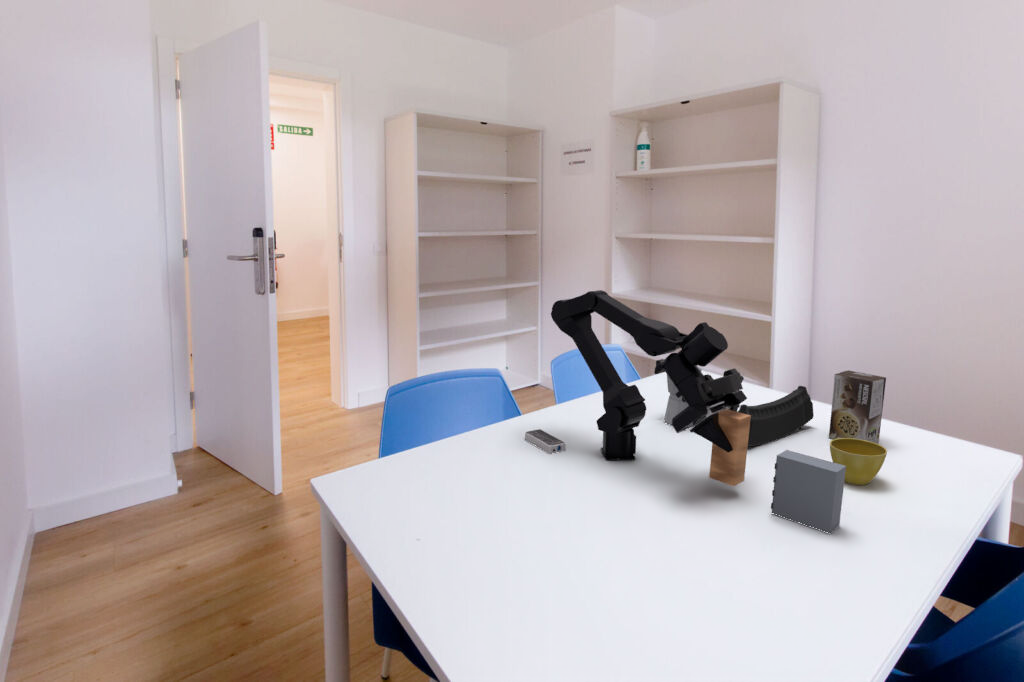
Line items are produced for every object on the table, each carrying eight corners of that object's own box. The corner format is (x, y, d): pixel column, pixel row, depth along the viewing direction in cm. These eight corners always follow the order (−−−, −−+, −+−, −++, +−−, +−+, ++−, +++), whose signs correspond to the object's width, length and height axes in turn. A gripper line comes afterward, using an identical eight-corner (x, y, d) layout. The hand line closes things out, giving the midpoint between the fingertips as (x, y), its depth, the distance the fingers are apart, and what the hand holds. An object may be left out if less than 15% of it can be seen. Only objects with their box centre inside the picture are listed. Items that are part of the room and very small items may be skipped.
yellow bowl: (815, 474, 129) (818, 441, 127) (849, 467, 133) (853, 435, 131) (858, 494, 120) (862, 458, 118) (894, 485, 124) (899, 451, 122)
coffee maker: (660, 413, 168) (664, 348, 165) (694, 415, 167) (698, 349, 164) (666, 432, 154) (670, 361, 150) (703, 434, 152) (708, 362, 149)
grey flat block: (770, 513, 111) (775, 455, 109) (781, 506, 114) (786, 449, 112) (829, 534, 104) (836, 472, 102) (839, 526, 107) (846, 465, 105)
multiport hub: (540, 437, 151) (540, 428, 150) (566, 452, 141) (566, 442, 141) (524, 441, 148) (524, 431, 148) (549, 456, 139) (549, 446, 139)
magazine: (736, 417, 137) (810, 361, 152) (723, 413, 140) (798, 359, 154) (744, 481, 143) (814, 422, 158) (732, 477, 146) (802, 419, 160)
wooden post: (709, 477, 120) (715, 412, 117) (720, 472, 123) (726, 409, 120) (733, 486, 116) (740, 419, 114) (744, 480, 119) (750, 415, 116)
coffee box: (879, 444, 146) (888, 377, 143) (865, 449, 143) (874, 381, 140) (841, 433, 154) (848, 369, 151) (827, 438, 150) (834, 372, 147)
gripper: (690, 364, 111) (743, 439, 106) (741, 349, 124) (791, 416, 118) (650, 396, 119) (698, 468, 113) (703, 380, 131) (748, 444, 125)
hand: (736, 448), depth 117 cm, fingers closed on wooden post, 4 cm apart
